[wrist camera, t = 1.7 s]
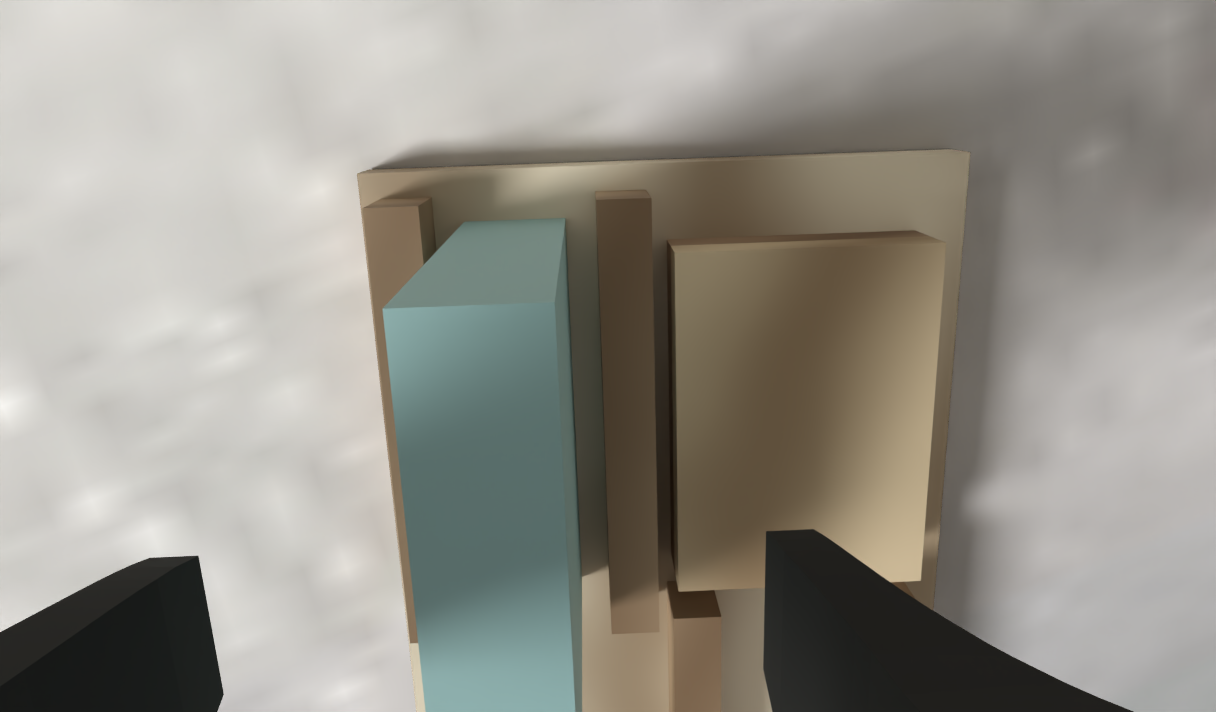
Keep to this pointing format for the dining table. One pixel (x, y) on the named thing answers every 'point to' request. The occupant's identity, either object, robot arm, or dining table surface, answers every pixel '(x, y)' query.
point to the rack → (657, 373)
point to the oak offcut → (802, 401)
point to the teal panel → (491, 468)
